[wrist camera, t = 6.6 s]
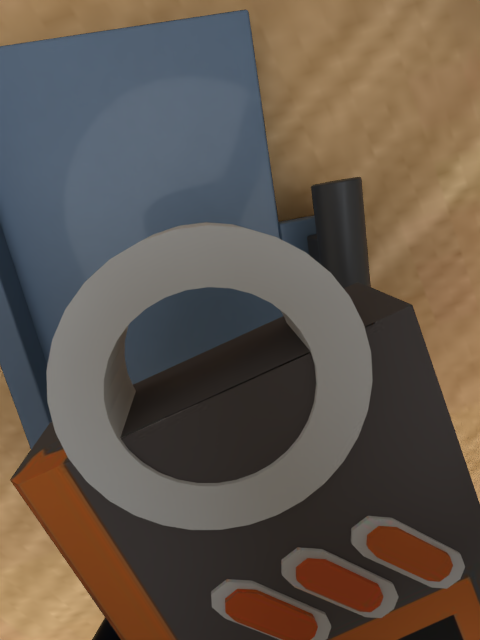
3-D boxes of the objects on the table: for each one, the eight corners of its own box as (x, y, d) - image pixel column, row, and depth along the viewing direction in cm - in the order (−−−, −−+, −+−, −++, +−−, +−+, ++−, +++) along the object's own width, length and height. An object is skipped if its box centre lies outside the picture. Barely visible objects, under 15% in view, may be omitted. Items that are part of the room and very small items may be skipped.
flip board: (307, 7, 16) (351, -58, 12) (352, 420, 20) (393, 474, 16) (-85, 67, 15) (-187, 18, 11) (61, 485, 20) (30, 560, 15)
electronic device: (367, 136, 5) (599, 835, 9) (307, 163, 8) (503, 687, 12) (-129, 365, 5) (309, 961, 9) (-17, 312, 8) (282, 785, 12)
